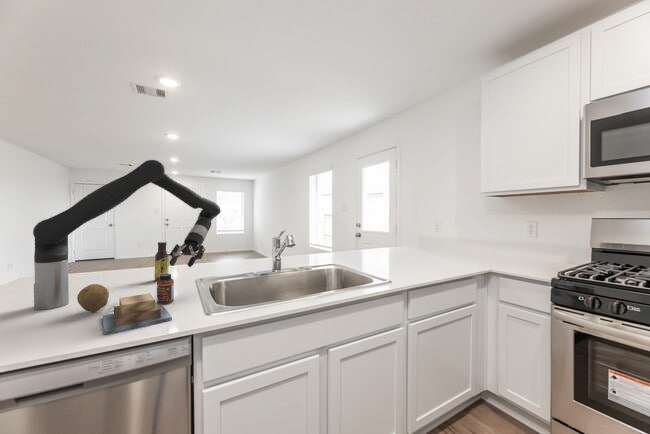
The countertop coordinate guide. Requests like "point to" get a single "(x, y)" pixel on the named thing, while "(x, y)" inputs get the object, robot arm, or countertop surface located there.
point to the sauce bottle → (161, 260)
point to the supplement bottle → (165, 289)
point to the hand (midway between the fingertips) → (180, 265)
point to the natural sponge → (93, 297)
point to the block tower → (135, 314)
